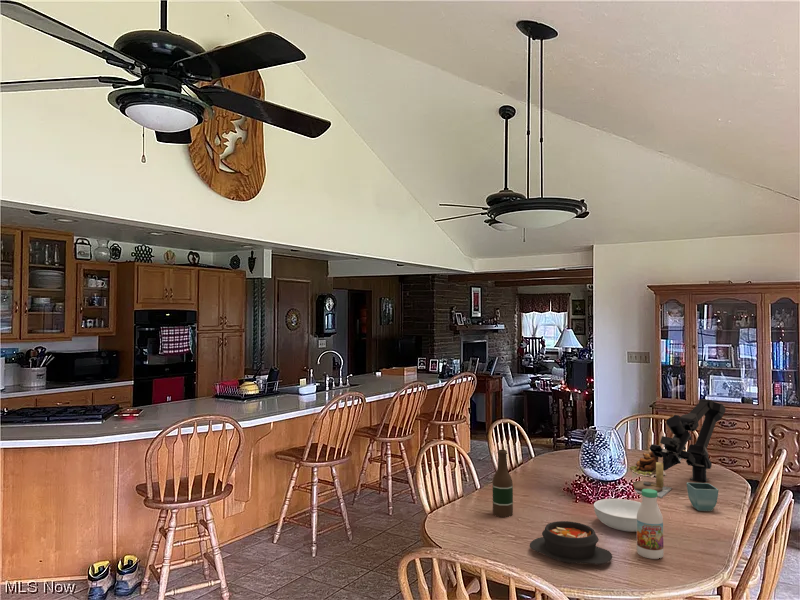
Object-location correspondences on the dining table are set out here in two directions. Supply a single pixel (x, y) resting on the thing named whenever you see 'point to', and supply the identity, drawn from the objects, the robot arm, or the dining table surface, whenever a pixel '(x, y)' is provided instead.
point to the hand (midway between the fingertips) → (663, 469)
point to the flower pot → (702, 496)
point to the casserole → (570, 543)
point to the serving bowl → (618, 513)
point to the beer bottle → (502, 488)
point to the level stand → (661, 493)
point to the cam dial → (652, 485)
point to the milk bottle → (650, 526)
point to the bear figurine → (646, 465)
